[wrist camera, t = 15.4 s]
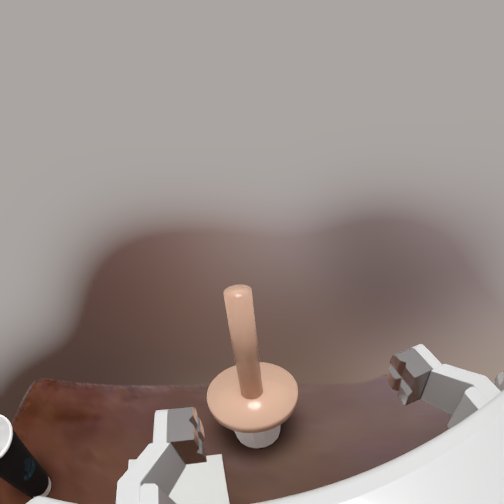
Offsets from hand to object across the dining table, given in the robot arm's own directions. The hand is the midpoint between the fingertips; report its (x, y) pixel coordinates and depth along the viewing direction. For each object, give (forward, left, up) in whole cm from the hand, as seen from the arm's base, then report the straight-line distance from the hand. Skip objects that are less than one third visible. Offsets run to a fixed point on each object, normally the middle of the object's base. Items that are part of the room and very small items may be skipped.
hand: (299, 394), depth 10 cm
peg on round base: (+1, -15, -17) cm, 23 cm away
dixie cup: (+32, -6, -24) cm, 40 cm away
